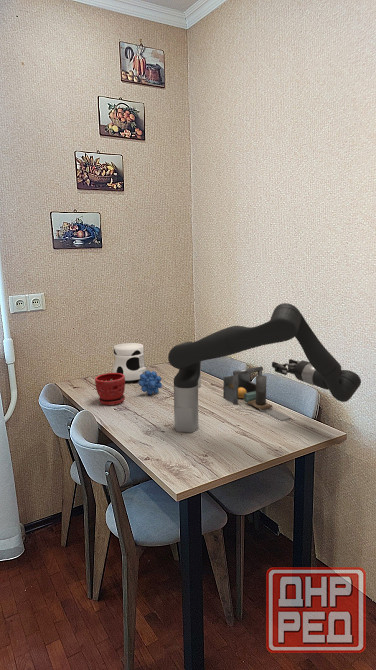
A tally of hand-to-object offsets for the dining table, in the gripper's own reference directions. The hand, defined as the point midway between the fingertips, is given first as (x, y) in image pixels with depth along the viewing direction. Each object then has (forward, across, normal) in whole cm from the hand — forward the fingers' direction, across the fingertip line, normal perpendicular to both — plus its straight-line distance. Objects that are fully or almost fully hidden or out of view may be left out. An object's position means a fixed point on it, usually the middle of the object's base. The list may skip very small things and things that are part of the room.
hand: (281, 362), depth 179 cm
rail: (+2, 0, +23) cm, 23 cm away
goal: (+26, 0, +23) cm, 35 cm away
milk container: (+81, +32, +25) cm, 90 cm away
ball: (+26, 0, +21) cm, 33 cm away
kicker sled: (+14, 0, +22) cm, 26 cm away
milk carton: (+52, +11, +24) cm, 59 cm away
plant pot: (+52, +53, +24) cm, 78 cm away
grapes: (+51, +33, +24) cm, 66 cm away
